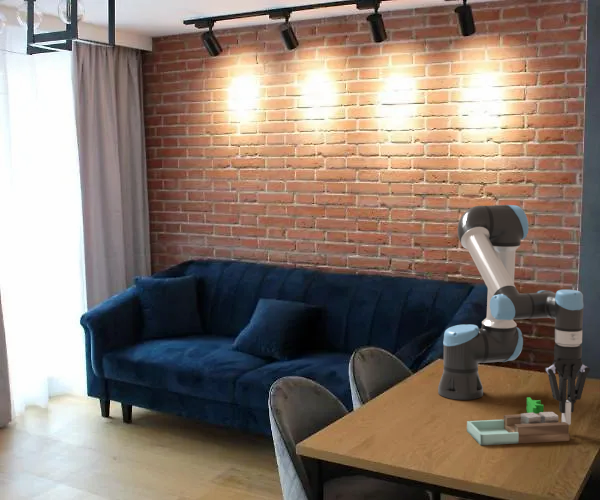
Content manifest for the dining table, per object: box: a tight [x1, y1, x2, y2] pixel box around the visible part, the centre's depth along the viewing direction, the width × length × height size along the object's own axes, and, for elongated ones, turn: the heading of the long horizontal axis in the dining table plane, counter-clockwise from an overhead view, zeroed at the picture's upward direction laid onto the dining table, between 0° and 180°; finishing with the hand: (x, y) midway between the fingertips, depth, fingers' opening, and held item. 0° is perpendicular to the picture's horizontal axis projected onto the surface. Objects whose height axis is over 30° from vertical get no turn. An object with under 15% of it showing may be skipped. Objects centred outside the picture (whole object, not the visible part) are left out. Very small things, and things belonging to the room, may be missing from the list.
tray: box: [466, 419, 519, 446], centre depth 225 cm, size 12×11×3 cm
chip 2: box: [539, 411, 559, 423], centre depth 226 cm, size 4×4×4 cm
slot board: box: [503, 413, 570, 444], centre depth 226 cm, size 12×15×4 cm
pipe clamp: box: [526, 396, 545, 414], centre depth 243 cm, size 11×4×5 cm, turn 173°
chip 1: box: [520, 412, 541, 424], centre depth 226 cm, size 4×4×4 cm
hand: (566, 423), depth 227 cm, fingers closed
